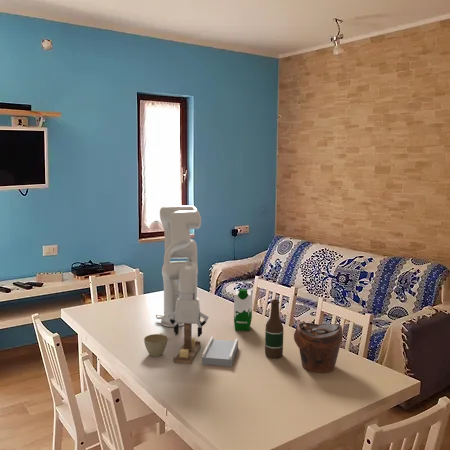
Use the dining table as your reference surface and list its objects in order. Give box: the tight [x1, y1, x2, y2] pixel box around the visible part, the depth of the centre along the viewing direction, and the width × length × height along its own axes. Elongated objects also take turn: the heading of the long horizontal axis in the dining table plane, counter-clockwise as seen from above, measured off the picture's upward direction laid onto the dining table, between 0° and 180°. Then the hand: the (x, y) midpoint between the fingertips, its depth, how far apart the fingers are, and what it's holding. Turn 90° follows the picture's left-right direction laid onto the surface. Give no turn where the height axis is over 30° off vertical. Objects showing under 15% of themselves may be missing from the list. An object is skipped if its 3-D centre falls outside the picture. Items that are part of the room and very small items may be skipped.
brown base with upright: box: [173, 323, 201, 365], centre depth 205 cm, size 19×7×14 cm, turn 171°
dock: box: [201, 336, 239, 368], centre depth 204 cm, size 12×20×4 cm, turn 171°
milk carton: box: [233, 288, 253, 332], centre depth 236 cm, size 9×9×20 cm
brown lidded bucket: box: [293, 322, 344, 374], centre depth 194 cm, size 18×20×18 cm
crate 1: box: [179, 348, 189, 358], centre depth 199 cm, size 3×3×3 cm
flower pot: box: [143, 333, 169, 358], centre depth 204 cm, size 10×10×7 cm
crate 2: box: [191, 337, 196, 347], centre depth 211 cm, size 3×3×3 cm
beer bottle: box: [264, 299, 284, 359], centre depth 204 cm, size 8×8×24 cm
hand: (188, 335), depth 204 cm, fingers open, 9 cm apart
